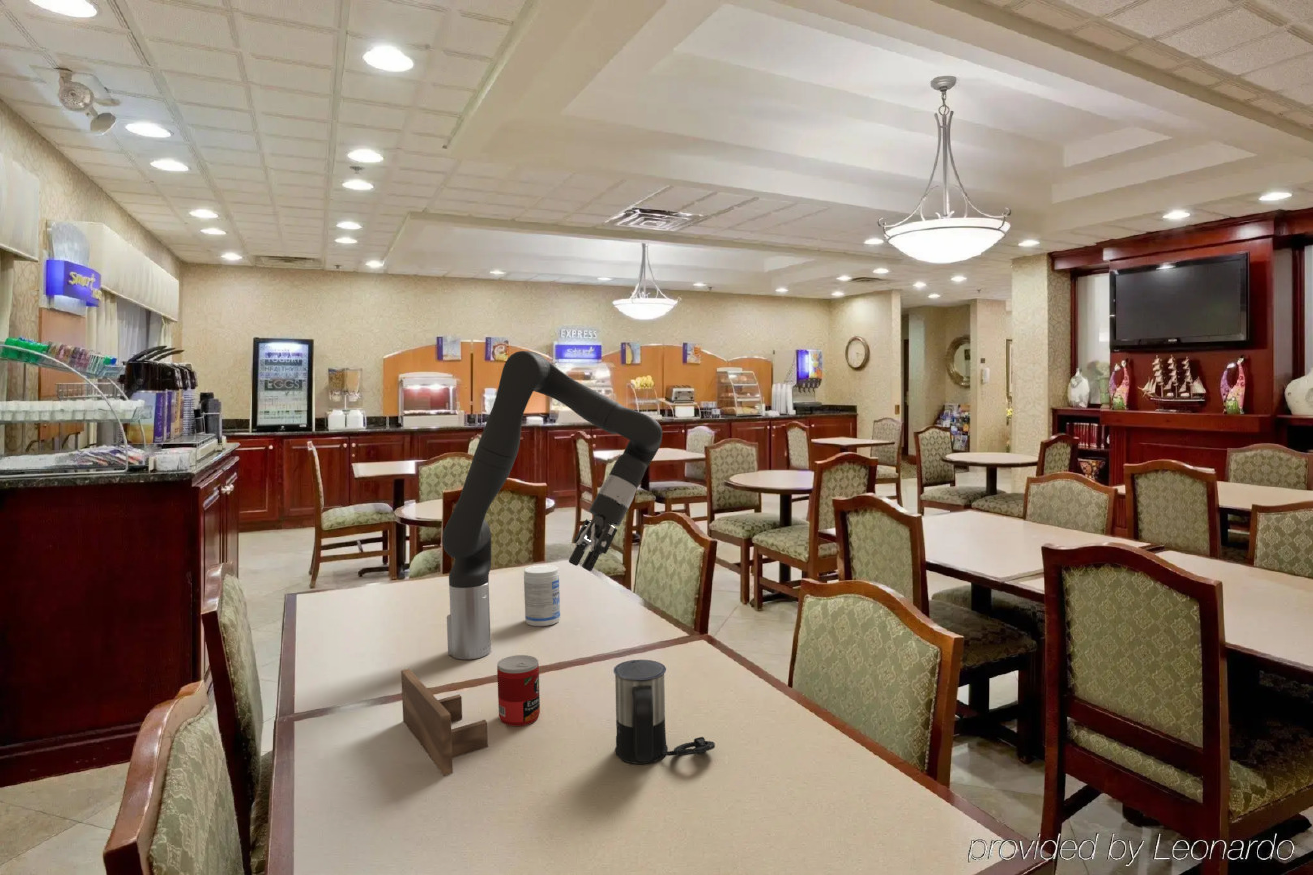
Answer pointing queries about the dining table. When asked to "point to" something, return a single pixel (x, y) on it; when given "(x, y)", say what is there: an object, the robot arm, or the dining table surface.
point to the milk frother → (645, 714)
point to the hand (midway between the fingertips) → (579, 566)
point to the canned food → (518, 690)
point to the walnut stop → (439, 723)
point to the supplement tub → (542, 595)
